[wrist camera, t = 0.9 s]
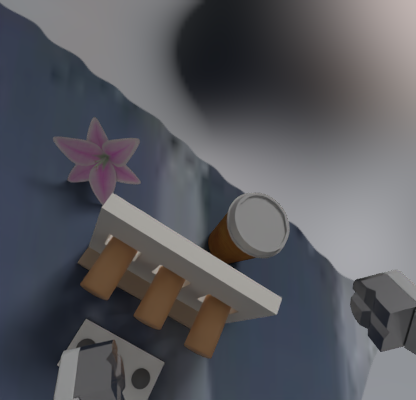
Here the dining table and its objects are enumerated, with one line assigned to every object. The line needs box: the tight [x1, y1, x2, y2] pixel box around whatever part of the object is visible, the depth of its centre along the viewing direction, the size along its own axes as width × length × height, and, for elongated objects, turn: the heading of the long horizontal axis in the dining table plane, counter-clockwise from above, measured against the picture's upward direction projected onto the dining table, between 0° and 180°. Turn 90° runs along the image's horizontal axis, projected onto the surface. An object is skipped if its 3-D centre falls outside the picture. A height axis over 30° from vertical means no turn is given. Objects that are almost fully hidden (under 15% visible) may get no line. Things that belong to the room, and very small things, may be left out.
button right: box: [184, 294, 232, 358], centre depth 42 cm, size 4×6×4 cm, turn 154°
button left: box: [80, 236, 138, 300], centre depth 40 cm, size 4×6×4 cm, turn 154°
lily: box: [53, 117, 141, 205], centre depth 50 cm, size 12×12×10 cm
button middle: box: [133, 266, 185, 330], centre depth 41 cm, size 4×6×4 cm, turn 154°
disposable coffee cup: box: [208, 193, 289, 264], centre depth 52 cm, size 10×10×12 cm
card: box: [57, 319, 165, 400], centre depth 43 cm, size 12×6×1 cm, turn 64°
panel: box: [78, 193, 282, 329], centre depth 43 cm, size 22×7×16 cm, turn 64°
